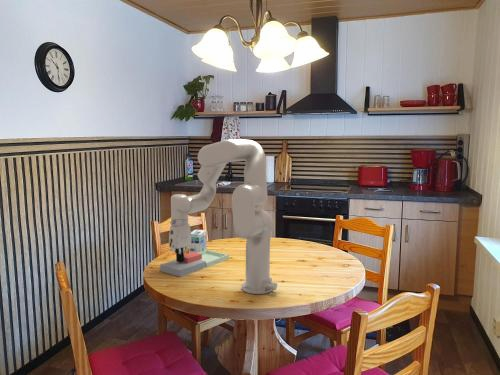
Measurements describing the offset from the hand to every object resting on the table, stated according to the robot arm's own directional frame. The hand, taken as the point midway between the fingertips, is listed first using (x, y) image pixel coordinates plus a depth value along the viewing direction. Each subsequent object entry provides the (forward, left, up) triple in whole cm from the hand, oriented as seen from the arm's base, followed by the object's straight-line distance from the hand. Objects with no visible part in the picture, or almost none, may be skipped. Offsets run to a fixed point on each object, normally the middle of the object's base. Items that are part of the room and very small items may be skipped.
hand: (180, 261), depth 176 cm
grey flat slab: (-1, -1, -4) cm, 4 cm away
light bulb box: (+14, -26, -4) cm, 30 cm away
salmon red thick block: (0, -6, -1) cm, 6 cm away
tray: (0, -17, -4) cm, 18 cm away
